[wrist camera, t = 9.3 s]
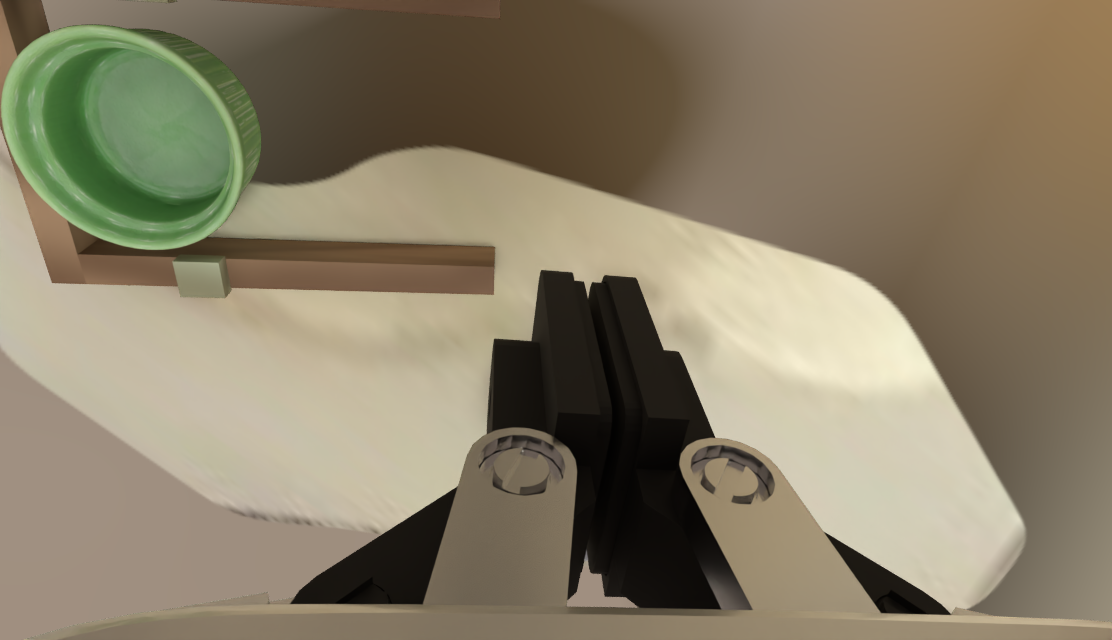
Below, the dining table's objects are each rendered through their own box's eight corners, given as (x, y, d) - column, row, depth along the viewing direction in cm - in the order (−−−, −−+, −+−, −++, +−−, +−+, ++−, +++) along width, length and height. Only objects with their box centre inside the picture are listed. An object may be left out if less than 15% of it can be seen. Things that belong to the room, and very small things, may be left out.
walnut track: (-17, -67, 26) (-81, -69, 23) (501, -29, 28) (501, -27, 25) (82, 264, 33) (42, 293, 30) (494, 275, 35) (493, 304, 32)
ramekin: (193, -22, 28) (144, -18, 24) (312, 173, 32) (286, 202, 28) (17, 67, 29) (-58, 84, 25) (154, 243, 33) (109, 281, 29)
